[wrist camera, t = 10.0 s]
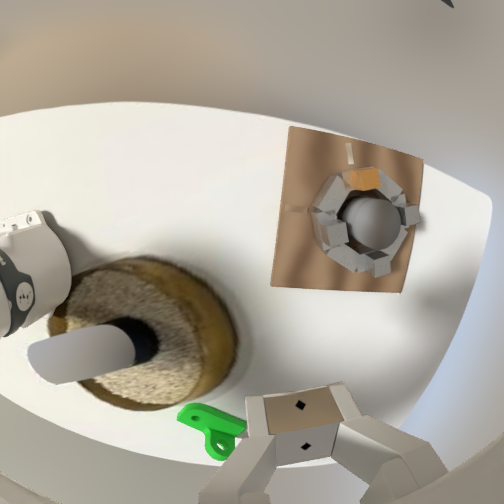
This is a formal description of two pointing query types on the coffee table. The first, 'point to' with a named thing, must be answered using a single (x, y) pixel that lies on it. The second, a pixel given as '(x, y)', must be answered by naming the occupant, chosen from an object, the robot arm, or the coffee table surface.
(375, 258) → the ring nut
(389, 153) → the base plate
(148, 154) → the coffee table surface
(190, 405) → the mechanical part
